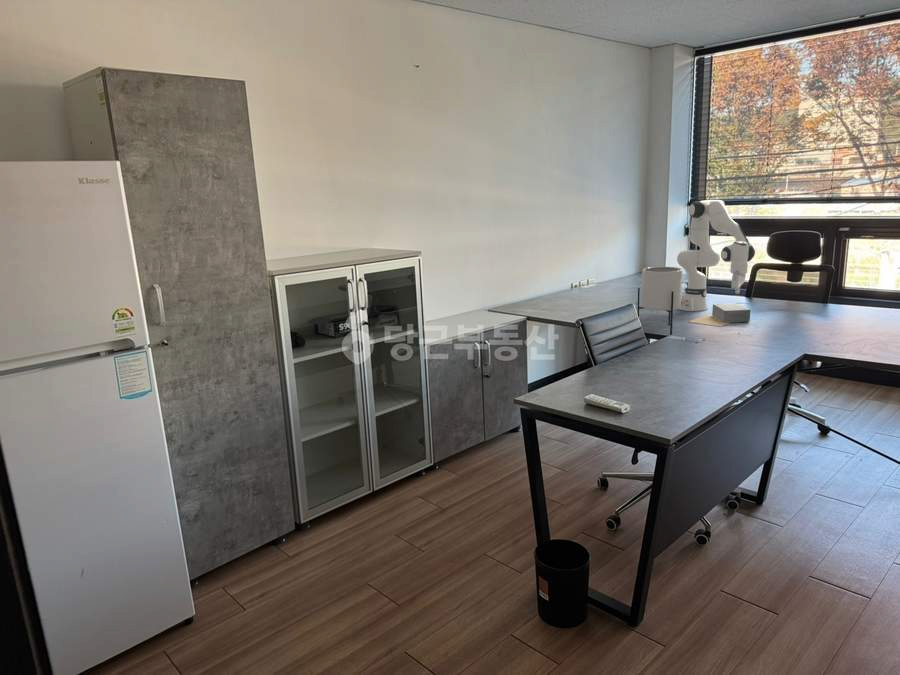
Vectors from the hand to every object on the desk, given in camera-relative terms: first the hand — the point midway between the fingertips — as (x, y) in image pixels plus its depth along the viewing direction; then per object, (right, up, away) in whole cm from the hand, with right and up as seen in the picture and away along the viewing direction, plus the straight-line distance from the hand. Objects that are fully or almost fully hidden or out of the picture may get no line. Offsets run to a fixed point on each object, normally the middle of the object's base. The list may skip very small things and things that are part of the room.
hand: (737, 293), depth 357 cm
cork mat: (-8, -16, +14) cm, 23 cm away
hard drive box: (+2, -13, +5) cm, 15 cm away
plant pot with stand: (-45, -21, +2) cm, 50 cm away
